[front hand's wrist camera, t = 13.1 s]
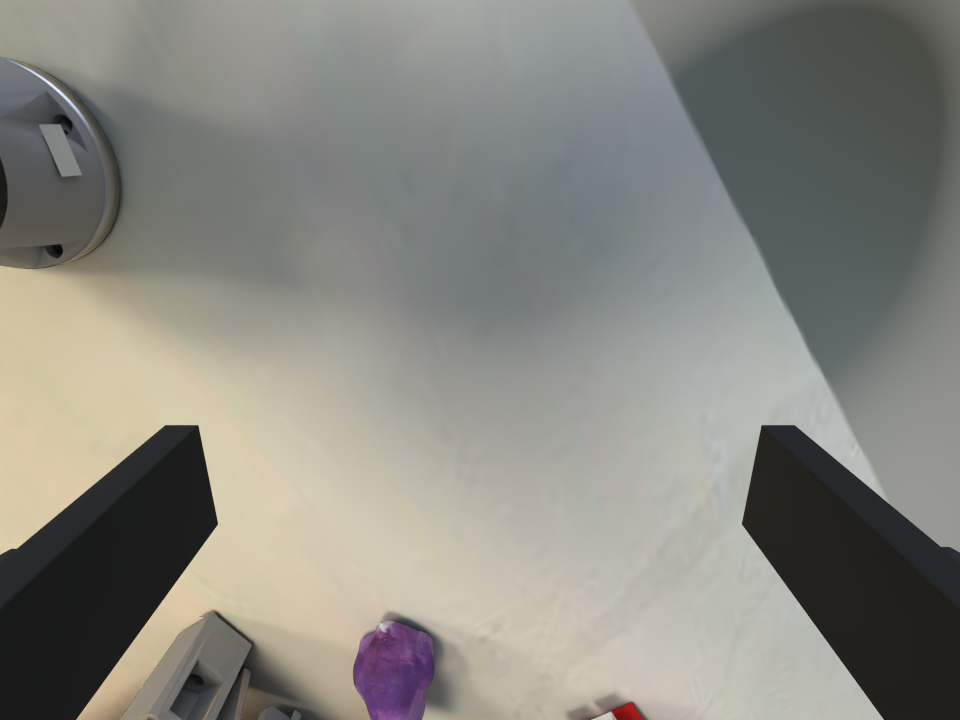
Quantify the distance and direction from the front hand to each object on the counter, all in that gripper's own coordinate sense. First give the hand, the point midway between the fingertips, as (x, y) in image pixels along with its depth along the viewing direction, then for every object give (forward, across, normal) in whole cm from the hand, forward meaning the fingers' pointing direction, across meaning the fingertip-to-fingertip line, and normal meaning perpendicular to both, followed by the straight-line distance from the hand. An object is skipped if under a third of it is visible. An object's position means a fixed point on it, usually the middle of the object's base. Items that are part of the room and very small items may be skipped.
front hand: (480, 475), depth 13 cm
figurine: (+34, +8, +44) cm, 56 cm away
